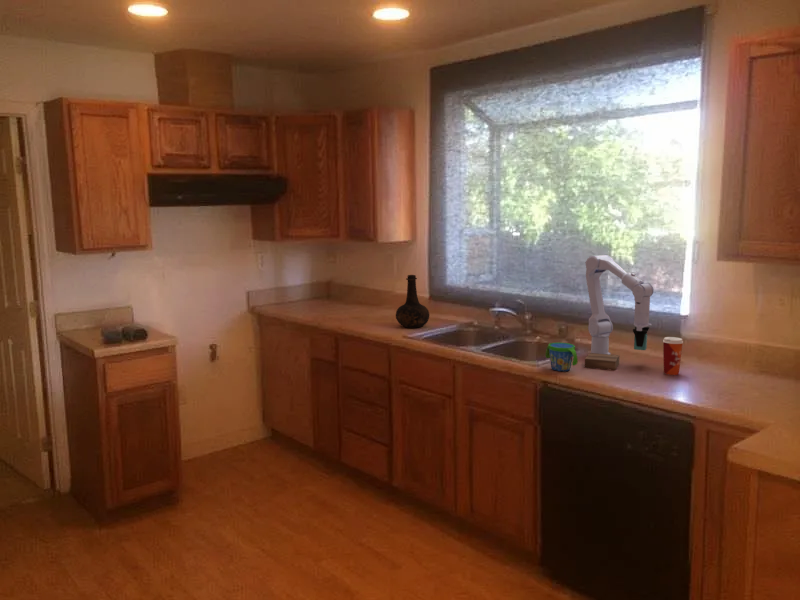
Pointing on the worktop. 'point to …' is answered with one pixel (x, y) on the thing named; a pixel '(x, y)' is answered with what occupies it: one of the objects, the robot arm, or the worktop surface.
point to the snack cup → (561, 356)
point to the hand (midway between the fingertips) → (640, 345)
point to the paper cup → (672, 355)
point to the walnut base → (602, 361)
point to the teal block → (643, 344)
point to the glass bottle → (412, 308)
